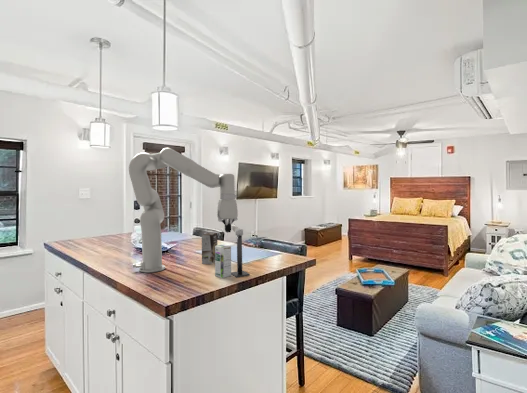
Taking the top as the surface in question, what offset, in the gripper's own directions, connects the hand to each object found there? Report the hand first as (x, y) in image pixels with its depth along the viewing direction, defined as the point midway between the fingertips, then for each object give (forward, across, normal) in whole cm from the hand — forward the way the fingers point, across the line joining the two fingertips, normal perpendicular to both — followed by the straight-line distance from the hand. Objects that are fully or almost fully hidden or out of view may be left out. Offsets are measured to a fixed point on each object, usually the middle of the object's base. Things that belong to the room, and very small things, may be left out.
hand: (228, 232), depth 167 cm
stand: (+18, +2, +17) cm, 25 cm away
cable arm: (-1, -2, +6) cm, 6 cm away
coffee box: (+19, +5, -15) cm, 24 cm away
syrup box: (+19, +9, +14) cm, 25 cm away
